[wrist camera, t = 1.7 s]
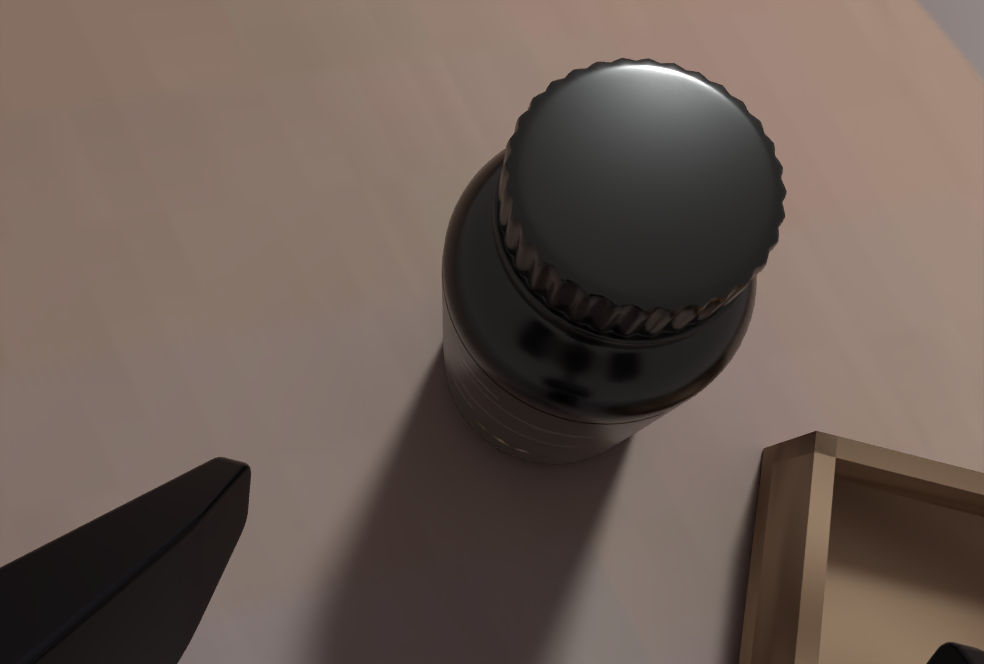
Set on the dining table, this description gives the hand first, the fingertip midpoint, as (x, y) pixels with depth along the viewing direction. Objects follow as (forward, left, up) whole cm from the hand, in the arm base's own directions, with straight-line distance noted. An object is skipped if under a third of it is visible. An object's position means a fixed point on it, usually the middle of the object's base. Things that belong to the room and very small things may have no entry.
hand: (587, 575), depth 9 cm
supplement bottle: (+6, 0, -13) cm, 14 cm away
